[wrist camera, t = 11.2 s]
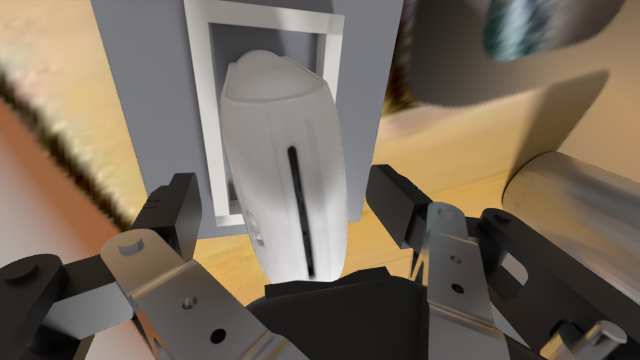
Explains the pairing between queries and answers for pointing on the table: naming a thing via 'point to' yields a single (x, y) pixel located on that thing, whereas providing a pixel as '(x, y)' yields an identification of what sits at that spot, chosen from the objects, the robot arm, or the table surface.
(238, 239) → the table surface
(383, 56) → the dock
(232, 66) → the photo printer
